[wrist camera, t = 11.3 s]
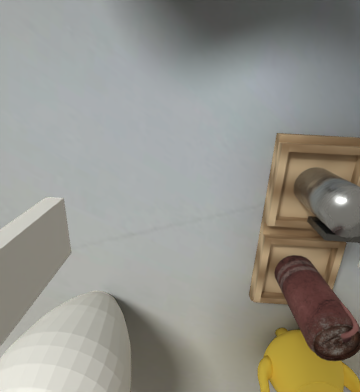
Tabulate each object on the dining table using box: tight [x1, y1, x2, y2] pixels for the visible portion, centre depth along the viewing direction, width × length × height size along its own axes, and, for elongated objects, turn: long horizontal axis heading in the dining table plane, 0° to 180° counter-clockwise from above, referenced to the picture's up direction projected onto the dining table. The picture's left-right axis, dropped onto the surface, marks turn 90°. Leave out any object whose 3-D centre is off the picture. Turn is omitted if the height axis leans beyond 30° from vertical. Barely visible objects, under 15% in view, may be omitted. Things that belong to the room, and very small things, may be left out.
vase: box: [0, 291, 131, 392], centre depth 37 cm, size 18×18×25 cm
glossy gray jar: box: [294, 167, 360, 243], centre depth 33 cm, size 6×6×10 cm
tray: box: [249, 133, 360, 304], centre depth 40 cm, size 28×12×3 cm, turn 177°
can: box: [274, 255, 360, 361], centre depth 36 cm, size 6×6×14 cm
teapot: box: [258, 328, 360, 392], centre depth 45 cm, size 20×15×12 cm
